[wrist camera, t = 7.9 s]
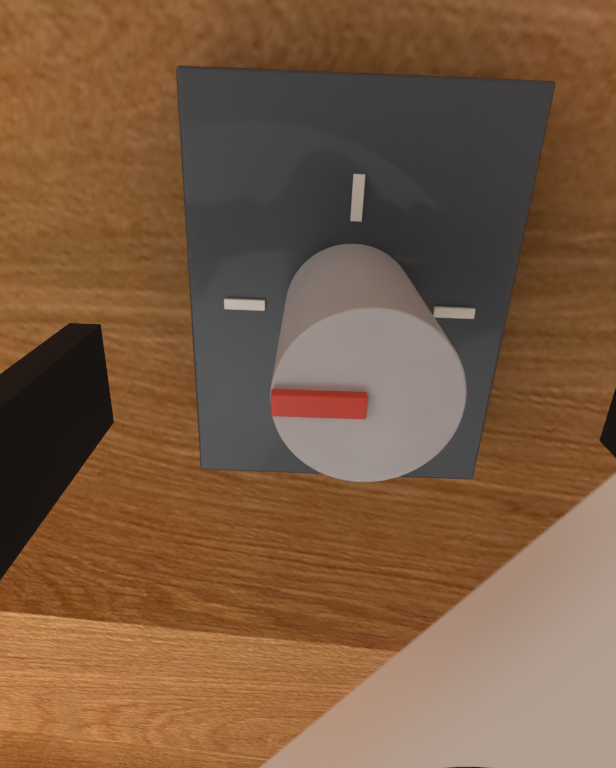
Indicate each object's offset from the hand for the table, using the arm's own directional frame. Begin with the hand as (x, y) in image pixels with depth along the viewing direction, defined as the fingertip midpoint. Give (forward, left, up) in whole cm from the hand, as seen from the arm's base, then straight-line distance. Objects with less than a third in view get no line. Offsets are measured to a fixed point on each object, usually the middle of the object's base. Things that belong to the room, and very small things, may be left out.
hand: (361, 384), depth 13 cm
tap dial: (0, 0, -5) cm, 5 cm away
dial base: (0, 0, -8) cm, 8 cm away
